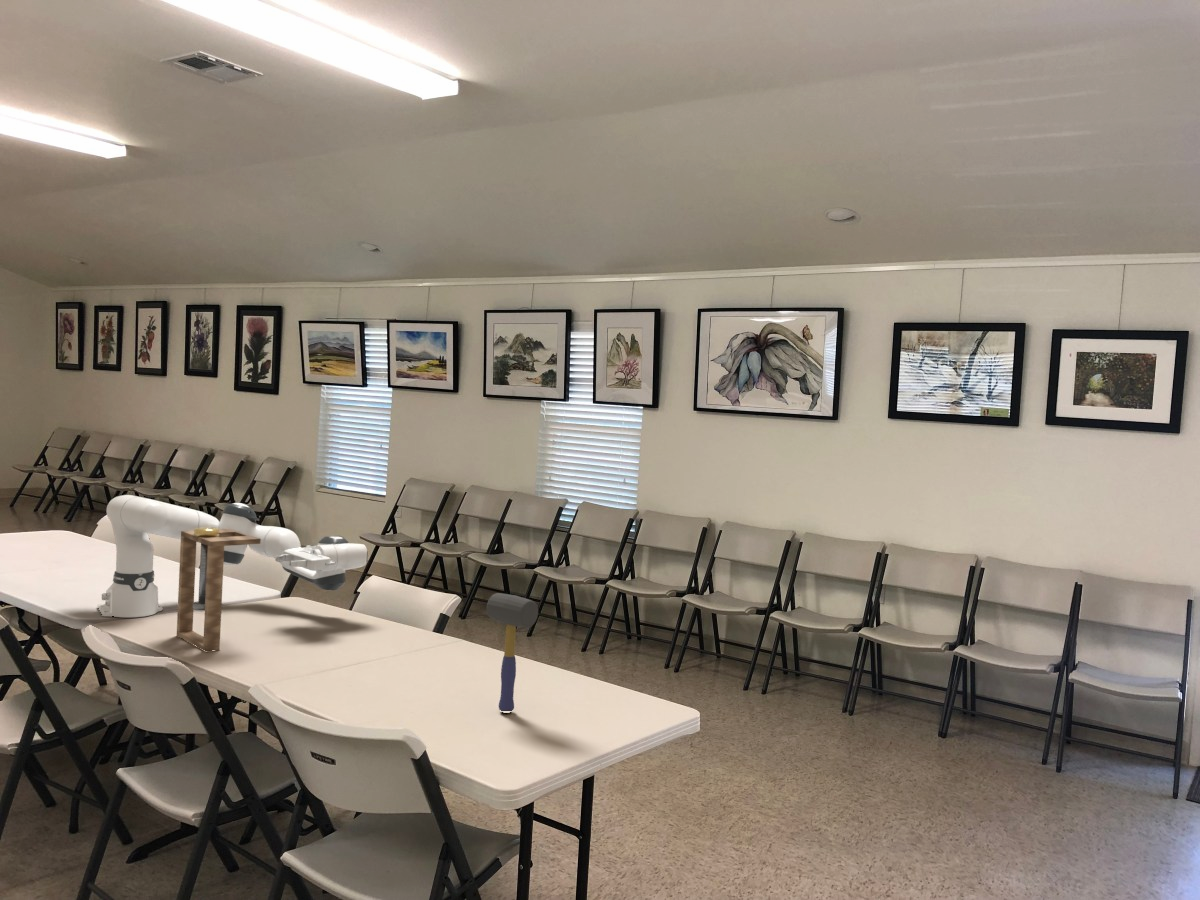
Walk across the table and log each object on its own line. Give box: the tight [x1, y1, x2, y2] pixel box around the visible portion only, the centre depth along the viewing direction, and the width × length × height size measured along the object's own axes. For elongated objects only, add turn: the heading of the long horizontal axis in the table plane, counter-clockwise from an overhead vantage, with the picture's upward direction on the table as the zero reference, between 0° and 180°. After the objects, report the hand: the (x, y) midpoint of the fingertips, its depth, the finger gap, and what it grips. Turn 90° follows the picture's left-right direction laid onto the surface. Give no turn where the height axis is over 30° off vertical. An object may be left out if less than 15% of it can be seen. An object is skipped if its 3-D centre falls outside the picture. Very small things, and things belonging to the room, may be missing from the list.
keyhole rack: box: [176, 529, 261, 652], centre depth 287 cm, size 15×22×32 cm
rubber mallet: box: [486, 592, 539, 712], centre depth 238 cm, size 12×8×30 cm, turn 54°
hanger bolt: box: [193, 527, 220, 611], centre depth 283 cm, size 7×7×24 cm
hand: (283, 561), depth 301 cm, fingers open, 8 cm apart
